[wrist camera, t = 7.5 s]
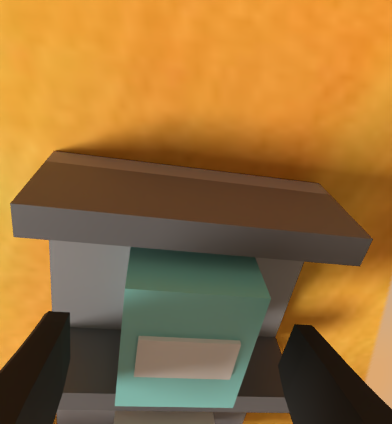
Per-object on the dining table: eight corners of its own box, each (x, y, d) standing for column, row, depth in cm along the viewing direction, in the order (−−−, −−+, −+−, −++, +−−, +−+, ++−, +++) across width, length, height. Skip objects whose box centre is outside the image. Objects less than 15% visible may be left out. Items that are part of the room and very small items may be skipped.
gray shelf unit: (62, 420, 20) (40, 507, 16) (53, 150, 12) (10, 203, 9) (233, 421, 21) (247, 501, 18) (319, 183, 14) (372, 238, 10)
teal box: (125, 315, 15) (114, 410, 11) (135, 213, 12) (124, 292, 9) (216, 320, 15) (233, 412, 12) (241, 224, 13) (272, 302, 9)
